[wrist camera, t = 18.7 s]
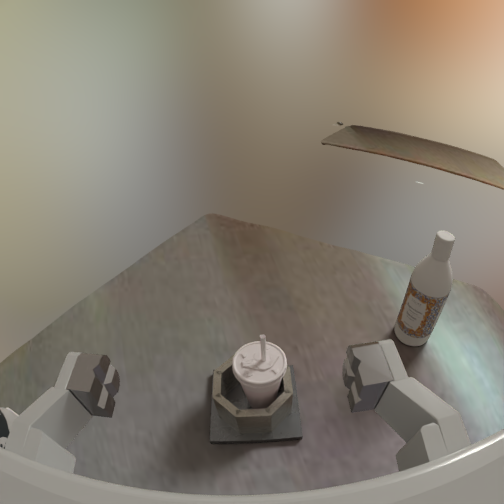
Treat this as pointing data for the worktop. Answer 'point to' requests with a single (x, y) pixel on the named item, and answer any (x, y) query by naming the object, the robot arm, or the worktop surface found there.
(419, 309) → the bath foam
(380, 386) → the robot arm
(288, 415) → the octagonal cup holder
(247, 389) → the smoothie
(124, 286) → the worktop surface
